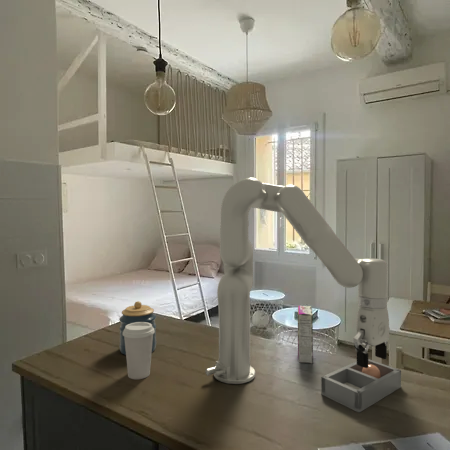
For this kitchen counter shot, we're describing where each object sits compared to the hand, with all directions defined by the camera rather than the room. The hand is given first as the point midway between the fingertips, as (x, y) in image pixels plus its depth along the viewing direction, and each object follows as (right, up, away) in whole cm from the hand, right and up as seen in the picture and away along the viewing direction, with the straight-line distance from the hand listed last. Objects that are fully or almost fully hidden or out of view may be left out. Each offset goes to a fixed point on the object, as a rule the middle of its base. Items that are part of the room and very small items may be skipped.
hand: (371, 361), depth 100 cm
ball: (0, -3, 0) cm, 3 cm away
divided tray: (-4, -7, -3) cm, 8 cm away
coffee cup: (-68, -7, +7) cm, 69 cm away
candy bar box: (-14, -7, +21) cm, 26 cm away
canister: (-74, -6, +27) cm, 79 cm away
